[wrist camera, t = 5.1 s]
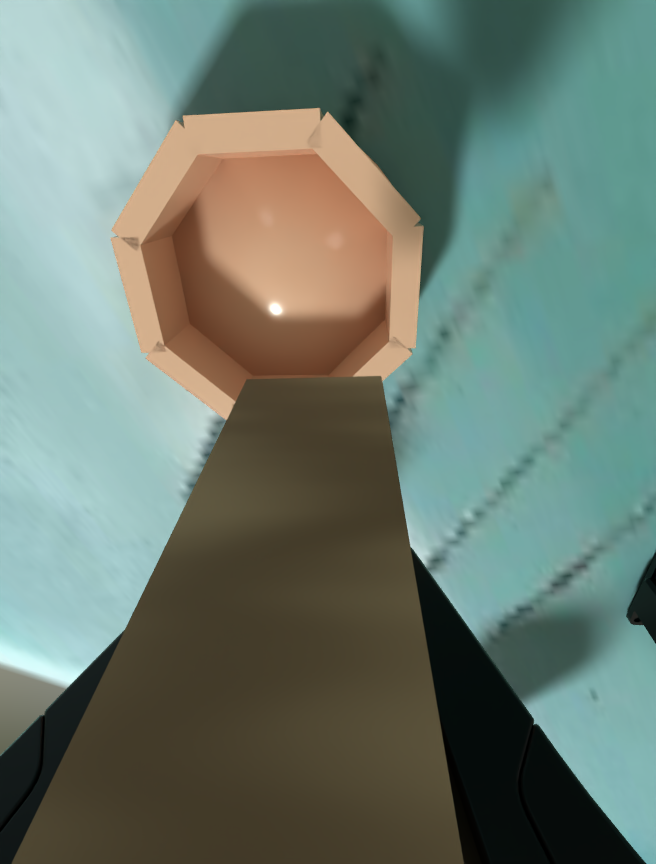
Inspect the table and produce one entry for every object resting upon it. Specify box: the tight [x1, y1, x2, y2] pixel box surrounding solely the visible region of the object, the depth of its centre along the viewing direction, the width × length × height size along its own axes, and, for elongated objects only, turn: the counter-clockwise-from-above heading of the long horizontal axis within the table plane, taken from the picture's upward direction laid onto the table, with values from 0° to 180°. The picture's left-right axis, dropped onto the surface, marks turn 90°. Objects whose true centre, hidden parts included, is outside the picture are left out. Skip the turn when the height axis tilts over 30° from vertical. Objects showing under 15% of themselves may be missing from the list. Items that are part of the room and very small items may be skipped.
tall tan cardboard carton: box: [12, 376, 464, 864], centre depth 7 cm, size 3×5×9 cm, turn 3°
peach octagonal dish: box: [111, 108, 424, 420], centre depth 17 cm, size 11×11×4 cm
